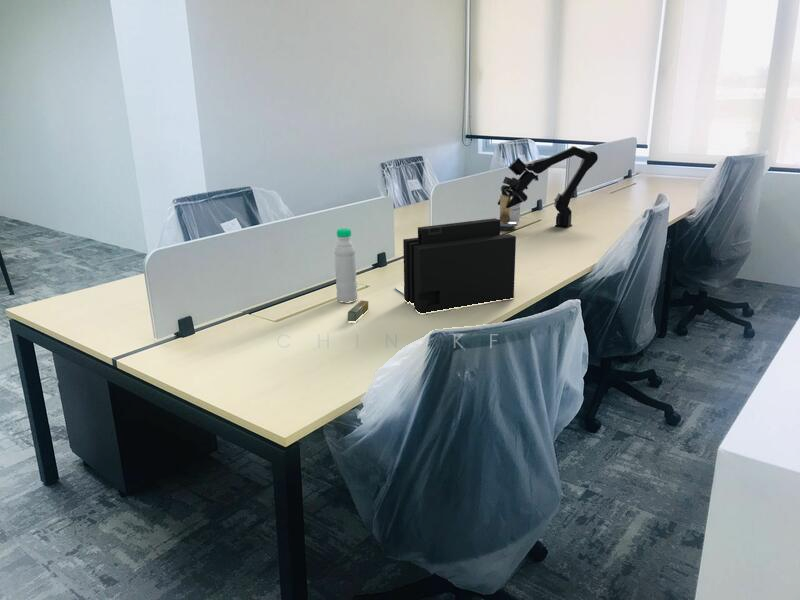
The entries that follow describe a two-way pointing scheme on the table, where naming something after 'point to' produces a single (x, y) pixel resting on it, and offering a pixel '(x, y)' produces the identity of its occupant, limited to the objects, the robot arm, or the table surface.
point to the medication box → (357, 310)
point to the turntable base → (506, 228)
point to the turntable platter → (510, 224)
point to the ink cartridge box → (515, 212)
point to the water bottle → (345, 267)
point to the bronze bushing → (504, 208)
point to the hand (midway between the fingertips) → (502, 206)
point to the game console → (458, 265)
